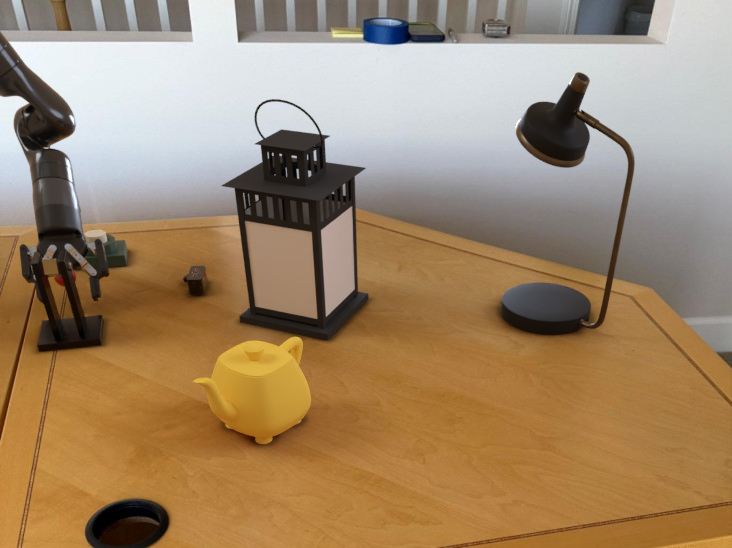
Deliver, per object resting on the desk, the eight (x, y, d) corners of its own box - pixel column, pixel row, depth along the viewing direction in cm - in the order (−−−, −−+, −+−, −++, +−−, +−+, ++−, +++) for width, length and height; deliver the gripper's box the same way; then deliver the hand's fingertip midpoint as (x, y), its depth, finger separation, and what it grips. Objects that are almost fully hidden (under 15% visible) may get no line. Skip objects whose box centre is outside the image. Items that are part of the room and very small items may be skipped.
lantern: (368, 299, 144) (364, 87, 121) (328, 340, 132) (315, 114, 109) (286, 283, 149) (267, 77, 125) (240, 322, 137) (209, 101, 113)
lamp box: (74, 270, 152) (68, 250, 150) (77, 254, 158) (71, 234, 155) (126, 265, 154) (122, 246, 151) (127, 250, 160) (123, 230, 157)
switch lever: (58, 289, 136) (54, 267, 135) (79, 287, 136) (75, 266, 136) (40, 279, 123) (35, 255, 122) (64, 277, 124) (59, 253, 123)
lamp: (533, 284, 150) (564, 55, 124) (627, 324, 138) (683, 79, 112) (477, 309, 141) (497, 69, 116) (572, 353, 130) (618, 97, 104)
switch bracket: (44, 326, 135) (19, 248, 126) (103, 321, 137) (83, 243, 127) (39, 351, 128) (12, 271, 119) (101, 345, 130) (79, 265, 121)
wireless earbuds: (208, 280, 150) (206, 263, 147) (204, 296, 144) (201, 279, 142) (184, 280, 149) (181, 264, 147) (179, 296, 144) (175, 279, 142)
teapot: (176, 439, 110) (159, 362, 102) (274, 381, 122) (265, 308, 114) (243, 474, 104) (230, 395, 96) (338, 410, 116) (335, 335, 108)
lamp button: (86, 246, 152) (83, 237, 151) (87, 239, 155) (84, 230, 154) (107, 245, 153) (105, 236, 151) (107, 237, 155) (105, 228, 154)
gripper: (7, 204, 131) (21, 298, 131) (95, 199, 134) (108, 290, 133) (21, 224, 139) (33, 313, 138) (103, 219, 141) (116, 305, 141)
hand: (70, 302), depth 136 cm, fingers open, 8 cm apart
